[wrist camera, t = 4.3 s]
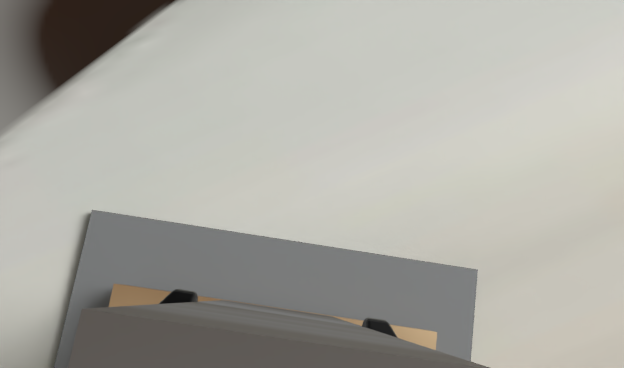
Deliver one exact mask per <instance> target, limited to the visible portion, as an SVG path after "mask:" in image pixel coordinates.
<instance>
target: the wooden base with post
mask: <svg viewBox="0 0 624 368" xmlns="http://www.w3.org/2000/svg"><path fill="white" fill-rule="evenodd" d="M170 293H171V292H170V291H164V290H157V289H150V288H144V287H137V286H130V285H123V284H114V285H113V289H112V294H111V298H110V302H109V307H102V308H86V309H82V310H81V315H80V319H79V323H78V327H77V331H76V336H75V340H74V344H73V348H72V353H71V357H70V361H69V365H68V368H489V367H486V366H483V365H480V364H476V363H473V362H470V361H467V360H464V359H461V358H458V357H455V356H452V355H449V354H446V353H443V352H440V351H436V341H437V332H434V331H430V330H424V329H417V328H411V327H404V326H397V325H391V324H390V326H391V327H392V329H393V331H394V332H395V334H396V336H397V337H398V338H397V337H393V336H390V335H387V334H384V333H381V332H378V331H375V330H372V329H369V328H365V327H362V324H363V321H364V320H357V319H350V318H344V317H337V316H330V315H324V314H317V313H310V312H304V311H297V310H290V309H284V308H277V307H270V306H264V305H257V304H250V303H244V302H237V301H230V300H224V299H217V298H210V297H204V296H198V302H184V303H168V304H159V303H160V302H161V301H162V300H163V299H164V298H165V297H166V296H167V295H168V294H170Z"/></svg>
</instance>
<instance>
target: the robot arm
mask: <svg viewBox="0 0 624 368" xmlns="http://www.w3.org/2000/svg"><path fill="white" fill-rule="evenodd" d="M184 302H198V295H197V293H196V292H195V291H190V290H183V289H175V290H173V291H172V292H171V293H170V294H168V295H167V296H166V297H165V298H164V299H163V300H162V301H161V302H160V303H159V304H168V303H184ZM362 327H365V328H369V329H372V330H375V331H378V332H381V333H384V334H387V335H390V336H393V337H397V336H396V334H395V332H394V331H393V329H392V327H391V326H390V324H389V323H388V322H387V321H386V320H382V319H376V318H369V317H368V318H365V320H364V321H363V324H362ZM397 338H398V337H397Z"/></svg>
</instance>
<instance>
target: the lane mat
mask: <svg viewBox="0 0 624 368" xmlns="http://www.w3.org/2000/svg"><path fill="white" fill-rule="evenodd" d="M477 271H478V270H476V269H470V268H463V267H457V266H451V265H444V264H438V263H431V262H425V261H418V260H412V259H405V258H399V257H393V256H386V255H380V254H373V253H367V252H360V251H354V250H347V249H341V248H335V247H328V246H322V245H315V244H309V243H302V242H296V241H290V240H283V239H277V238H270V237H264V236H257V235H251V234H244V233H238V232H232V231H225V230H219V229H212V228H206V227H199V226H193V225H186V224H180V223H174V222H167V221H161V220H154V219H148V218H141V217H135V216H128V215H122V214H116V213H109V212H103V211H96V210H92V212H91V216H90V220H89V224H88V228H87V233H86V237H85V241H84V245H83V249H82V253H81V257H80V262H79V266H78V270H77V274H76V278H75V282H74V286H73V290H72V295H71V299H70V303H69V307H68V311H67V315H66V319H65V323H64V328H63V332H62V336H61V340H60V344H59V348H58V352H57V356H56V361H55V365H54V368H68V365H69V361H70V357H71V353H72V348H73V344H74V340H75V336H76V331H77V327H78V323H79V319H80V315H81V310H82V309H86V308H102V307H109V302H110V298H111V294H112V289H113V285H114V284H123V285H130V286H137V287H144V288H150V289H157V290H164V291H170V292H172V291H173V290H175V289H183V290H190V291H195V292H196V293H197V295H198V296H204V297H210V298H217V299H224V300H230V301H237V302H244V303H250V304H257V305H264V306H270V307H277V308H284V309H290V310H297V311H304V312H310V313H317V314H324V315H330V316H337V317H344V318H350V319H357V320H365V318H368V317H369V318H376V319H382V320H386V321H387V322H388V323H389V324H391V325H397V326H404V327H411V328H417V329H424V330H430V331H434V332H437V341H436V351H440V352H443V353H446V354H449V355H452V356H455V357H458V358H461V359H464V360H467V361H470V362H471V349H472V336H473V323H474V310H475V297H476V284H477Z"/></svg>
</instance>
